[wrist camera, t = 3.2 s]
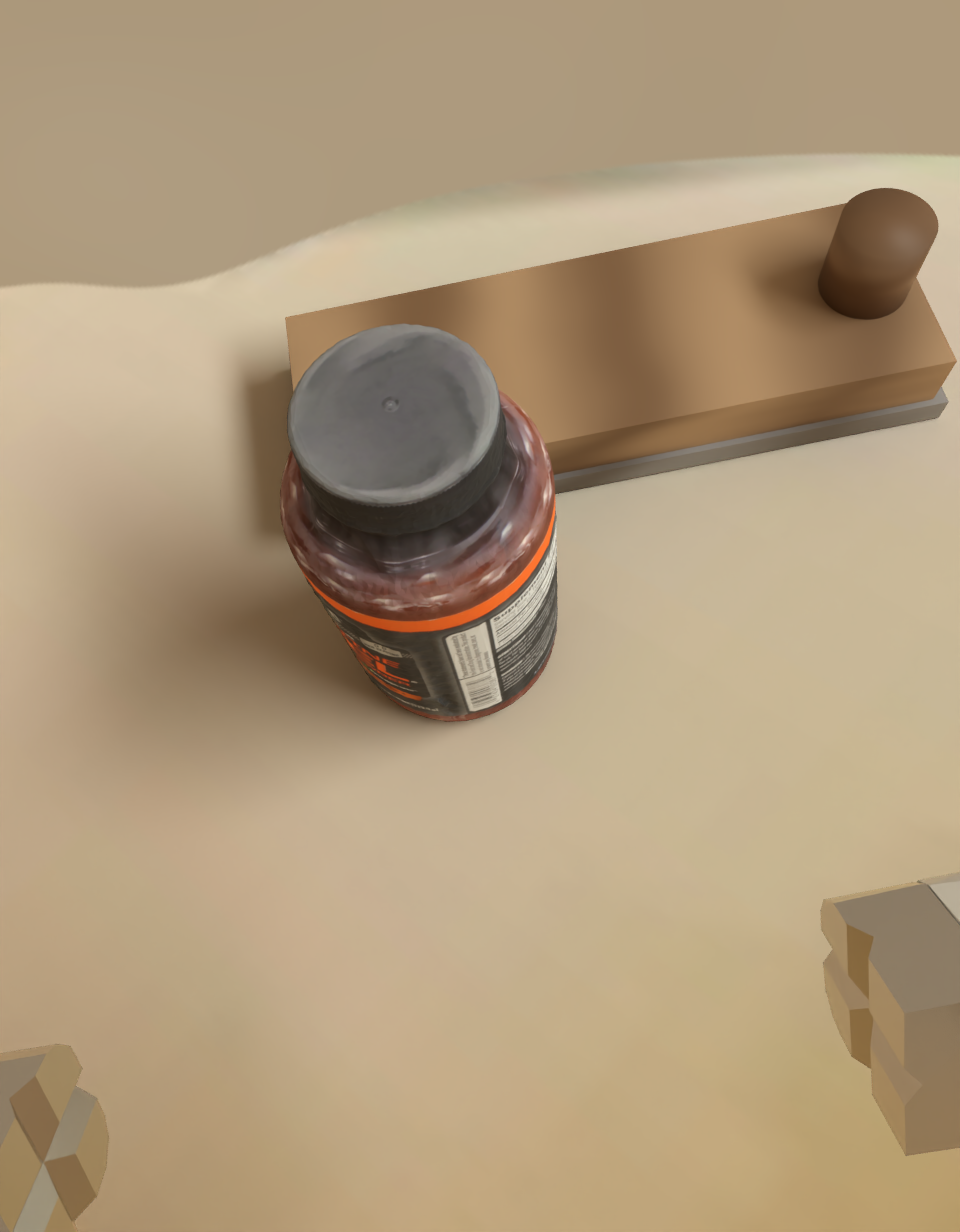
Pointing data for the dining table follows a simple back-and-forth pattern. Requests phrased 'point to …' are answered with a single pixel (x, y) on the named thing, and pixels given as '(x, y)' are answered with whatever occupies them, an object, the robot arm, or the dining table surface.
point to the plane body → (697, 339)
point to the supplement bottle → (424, 519)
